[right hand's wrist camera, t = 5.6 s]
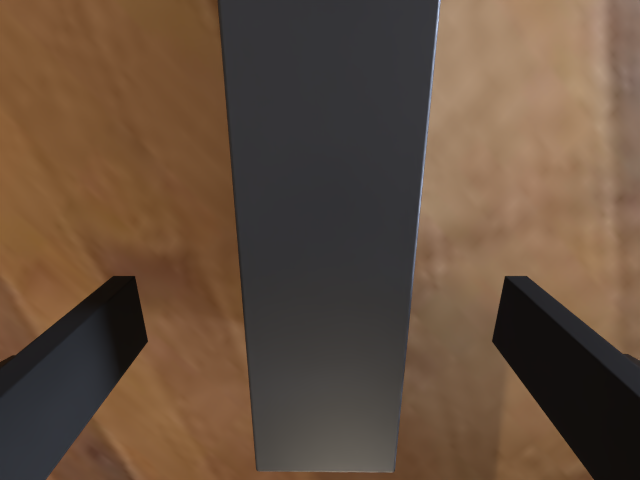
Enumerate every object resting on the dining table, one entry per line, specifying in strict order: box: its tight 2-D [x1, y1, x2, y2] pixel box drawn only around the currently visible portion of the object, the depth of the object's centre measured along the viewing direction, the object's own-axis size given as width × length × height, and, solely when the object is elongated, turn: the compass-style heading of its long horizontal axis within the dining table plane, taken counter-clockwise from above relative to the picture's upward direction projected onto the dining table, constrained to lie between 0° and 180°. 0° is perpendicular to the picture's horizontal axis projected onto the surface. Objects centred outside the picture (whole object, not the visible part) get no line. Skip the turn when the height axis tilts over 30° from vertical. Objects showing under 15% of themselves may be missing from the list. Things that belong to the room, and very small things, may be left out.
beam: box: [218, 0, 441, 472], centre depth 11 cm, size 28×4×8 cm, turn 0°
